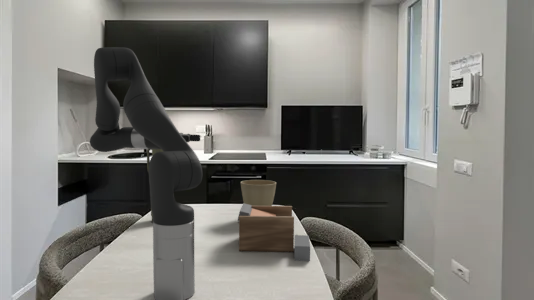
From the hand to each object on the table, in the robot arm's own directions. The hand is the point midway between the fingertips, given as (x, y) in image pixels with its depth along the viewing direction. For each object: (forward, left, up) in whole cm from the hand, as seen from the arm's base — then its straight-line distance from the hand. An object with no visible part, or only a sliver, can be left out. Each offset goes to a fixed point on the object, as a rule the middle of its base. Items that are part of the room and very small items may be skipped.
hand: (194, 138), depth 120 cm
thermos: (+29, +20, -35) cm, 50 cm away
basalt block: (-13, -34, -33) cm, 49 cm away
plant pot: (+33, -19, -35) cm, 52 cm away
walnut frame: (+2, -24, -35) cm, 42 cm away
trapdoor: (+2, -20, -27) cm, 34 cm away
